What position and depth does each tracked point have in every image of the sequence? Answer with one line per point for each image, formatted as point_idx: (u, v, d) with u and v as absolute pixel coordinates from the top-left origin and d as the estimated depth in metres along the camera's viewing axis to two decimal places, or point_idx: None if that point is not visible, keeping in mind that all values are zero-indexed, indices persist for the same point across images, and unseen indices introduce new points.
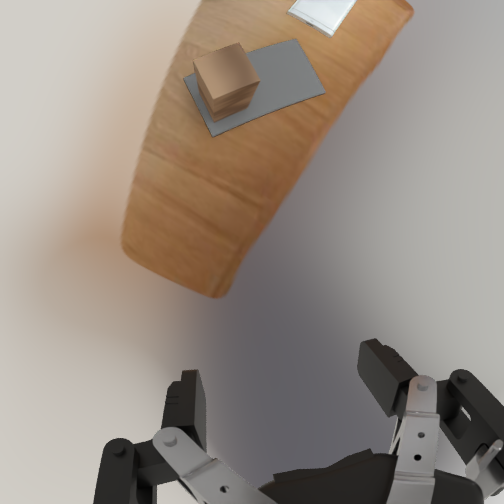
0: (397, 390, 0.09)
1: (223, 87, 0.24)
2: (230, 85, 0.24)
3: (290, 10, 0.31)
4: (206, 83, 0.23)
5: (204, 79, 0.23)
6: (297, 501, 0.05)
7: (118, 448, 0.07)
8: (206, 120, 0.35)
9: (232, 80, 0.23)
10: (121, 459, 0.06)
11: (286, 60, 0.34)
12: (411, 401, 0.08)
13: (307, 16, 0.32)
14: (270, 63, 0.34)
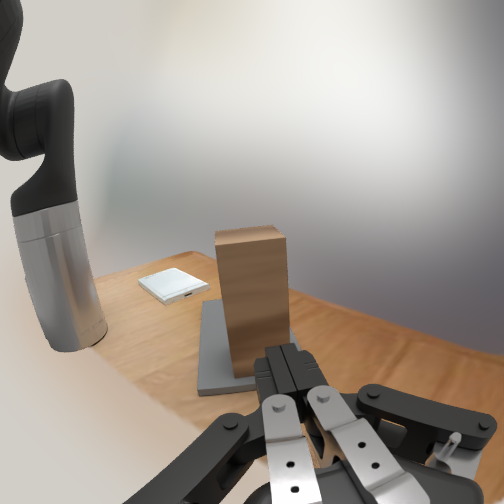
0: (299, 398, 0.10)
1: (271, 234, 0.21)
2: (271, 232, 0.22)
3: (164, 298, 0.40)
4: (259, 240, 0.20)
5: (252, 240, 0.20)
6: None
7: (231, 423, 0.08)
8: None
9: (265, 231, 0.22)
10: (237, 433, 0.08)
11: None
12: (322, 417, 0.08)
13: (179, 291, 0.42)
14: None
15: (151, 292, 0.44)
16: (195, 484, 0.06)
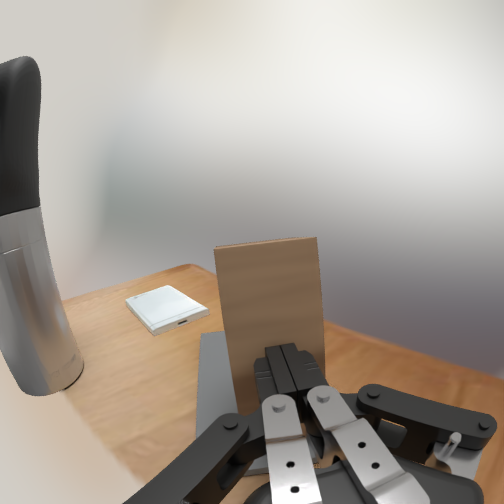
0: (299, 397, 0.10)
1: None
2: (293, 238, 0.16)
3: (153, 328, 0.32)
4: (279, 241, 0.14)
5: (268, 242, 0.14)
6: None
7: (231, 423, 0.08)
8: None
9: (284, 239, 0.16)
10: (237, 433, 0.08)
11: None
12: (322, 417, 0.08)
13: (171, 318, 0.34)
14: None
15: (139, 317, 0.35)
16: (195, 484, 0.06)
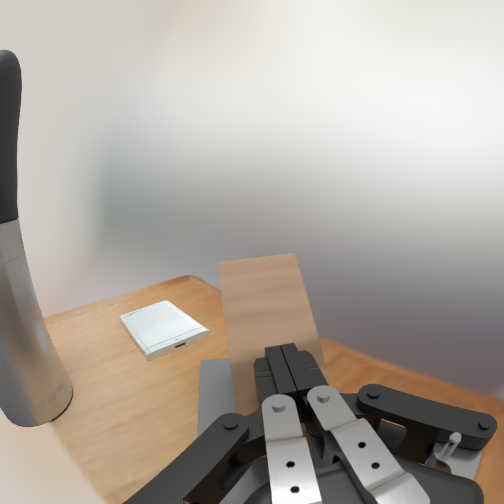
0: (299, 398, 0.10)
1: None
2: None
3: (147, 352, 0.28)
4: (266, 257, 0.18)
5: (259, 258, 0.18)
6: None
7: (231, 423, 0.08)
8: None
9: None
10: (237, 433, 0.08)
11: None
12: (322, 417, 0.08)
13: (168, 341, 0.30)
14: (234, 396, 0.21)
15: (133, 337, 0.32)
16: (195, 484, 0.06)
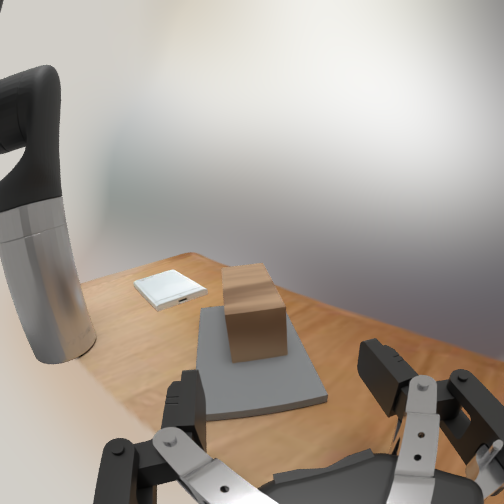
0: (397, 390, 0.09)
1: None
2: None
3: (157, 304, 0.37)
4: (247, 265, 0.34)
5: None
6: (297, 501, 0.05)
7: (118, 448, 0.07)
8: (294, 400, 0.19)
9: None
10: (121, 459, 0.06)
11: None
12: (411, 401, 0.08)
13: (173, 296, 0.39)
14: (225, 329, 0.30)
15: (145, 296, 0.41)
16: None
